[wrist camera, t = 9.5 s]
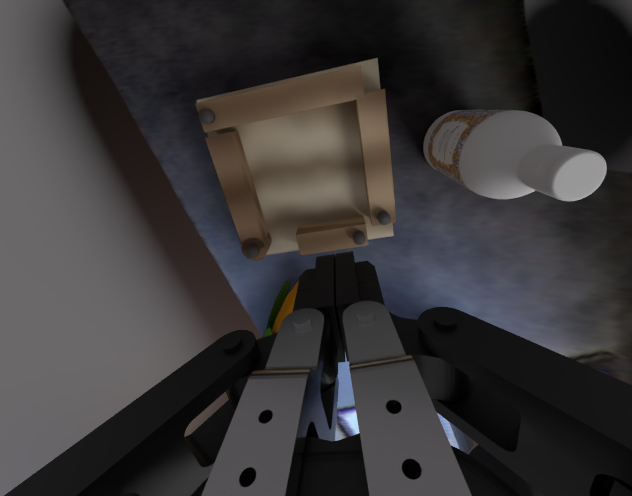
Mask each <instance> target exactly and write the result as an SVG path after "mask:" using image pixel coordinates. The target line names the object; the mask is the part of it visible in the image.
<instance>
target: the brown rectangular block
mask: <svg viewBox="0 0 632 496" xmlns="http://www.w3.org/2000/svg"><path fill="white" fill-rule="evenodd" d="M205 140H206V143H207V146H208V149H209V152H210V155H211V157H212V160H213V163H214V166H215V169H216V172H217V175H218V178H219V181H220V184H221V187H222V189H223V192H224V195H225V198H226V201H227V204H228V207H229V210H230V213H231V216H232V218H233V221H234V224H235V227H236V230H237V233H238V236H239V239H240V242H241V245H242V252H243V254H244V255H245V256H246V257H247V258H248V259H250V260H254V261H258V260H261V259H263V258H264V257H265V256H266V254H267V252H268V250H269V247H270V245H271V242H272V239H271V236H270V234H269V233H268V230H267V227H266V223H265V220H264V217H263V213H262V210H261V207H260V203H259V200H258V196H257V193H256V190H255V186H254V183H253V180H252V176H251V173H250V169H249V166H248V163H247V159H246V156H245V153H244V149H243V146H242V142H241V139H240V136H239V132H238V131H233V132H228V133H224V134H220V135H215V136H211V137H206V138H205Z"/></svg>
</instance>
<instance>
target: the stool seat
mask: <svg viewBox="0 0 632 496" xmlns="http://www.w3.org/2000/svg"><path fill="white" fill-rule="evenodd" d="M196 101H197V103H195V105H196V108H197V111H198V118H199V120H200V121H201V123H202V126H203V130H204V132H207V134H208V137H211V136H215V135H220V134H224V133H228V132H233V131H238V132H239V136H240V139H241V142H242V146H243V149H244V153H245V156H246V159H247V163H248V166H249V169H250V173H251V176H252V180H253V183H254V186H255V190H256V193H257V196H258V200H259V203H260V207H261V210H262V213H263V217H264V220H265V223H266V227H267V230H268V233H269V234H270V236H271V239H272V242H271V245H270V247H269V250H268V252H267V254H266V255H271V254H278V253H284V252H291V251H297V250H299V251H300V255H308V254H314V253H321V252H328V251H334V250H341V249H348V248H354V247H361V246H368V240H369V239H376V238H382V237H389V236H394V235H393V224H392V223H396V214H395V202H394V190H393V178H392V167H391V155H390V143H389V131H388V119H387V107H386V95H385V89H381V90H380V79H379V68H378V58H375V59H371V60H366V61H362V62H358V63H354V64H349V65H345V66H341V67H336V68H332V69H328V70H324V71H319V72H315V73H311V74H306V75H302V76H298V77H294V78H289V79H285V80H281V81H276V82H272V83H268V84H264V85H259V86H255V87H251V88H246V89H242V90H238V91H234V92H229V93H225V94H221V95H216V96H212V97H208V98H203V99H199V100H196Z"/></svg>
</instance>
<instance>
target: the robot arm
mask: <svg viewBox="0 0 632 496" xmlns="http://www.w3.org/2000/svg"><path fill="white" fill-rule="evenodd" d="M335 256H336V259H335ZM345 352H346V357H347V361H349V363H350V365H349V367H350V374H351V380H352V387H353V393H354V399H355V406H356V412H357V419H358V425H359V432H360V433H359V434H356V435H353V436H351V437H348V438H345V439H342V440H339V441H335V429H336V415H337V401H338V386H339V381H338V377H337V375H338V362H345ZM224 392H226V394H227V396H228V398H229V400H228V401H227V402H226V403H225V404H224V405H223V406H222V407H220V408H219V409H218V410H217V411H216V412H215V413H214V414H213V415H212V416H211V417H209V418H208V419H207V420H206V421H205V422H204V423H203V424H202V425H201V426H199V427H198V428H197V429H196V430H195V431H194V432H193V433H192V434H190V435H189V436H186V437H184V434H185V430H186V428H187V426H188V425H189V424H190V422H191V421H192V420H193V419H194V418H196V416H198V415H199V414H200V413H201V412H202V411H204V410H205V409H206V408H207V407H208V406H209V405H210V404H212V403H213V402H214V401H215V400H216V399H217V398H218V397H220V395H222V394H223V393H224ZM436 412H437V413H439V414H440V415H441V416H442V417H444V418H445V419H446V420H448V421H449V422H450V425H451V428H452V430H453V433H454V436H455V438H456V441H457V443H458V446H459V449H460V450H459V449H457V448H455V447H453V446H450V443H449V441H448V439H447V436H446V434H445V431H444V429H443V427H442V424H441V422H440V420H439V417H438V415H437V413H436ZM4 496H632V385H630V384H628V383H625V382H623V381H621V380H618V379H616V378H614V377H611V376H609V375H607V374H605V373H602V372H600V371H598V370H595V369H593V368H591V367H588V366H586V365H584V364H582V363H579V362H577V361H575V360H572V359H570V358H568V357H566V356H563V355H561V354H559V353H556V352H554V351H552V350H549V349H547V348H545V347H543V346H540V345H538V344H536V343H533V342H531V341H529V340H526V339H524V338H522V337H520V336H517V335H515V334H513V333H510V332H508V331H506V330H503V329H501V328H499V327H497V326H494V325H492V324H490V323H487V322H485V321H483V320H480V319H478V318H476V317H474V316H471V315H469V314H467V313H464V312H462V311H460V310H457V309H453V308H448V307H436V308H431V309H428V310H426V311H425V312H423V313H422V314H421V315H420V316H419V319H418V320H413V319H405V318H401V317H398V316H395V315H393V314H392V313H390V312H389V311H388V309H387V308H386V307H385V305H384V301H383V297H382V293H381V289H380V285H379V282H378V278H377V274H376V270H375V266H373V265H372V264H371V263H370V262H368V261H364V262H357V263H355V261H354V255H353V251H351V252H344V253H337V254H336V255H334V254H331V255H324V256H318V257H317V259H316V267H315V269H309V270H305V272H304V273H303V274H302V275H301V276H300V278H299V283H298V288H297V293H296V297H295V302H294V307H293V312H292V313H290V314H288V315H287V316H286V317H285V318H284V319H283V321H282V322H281V325H280V328H279V331H278V332H276V333H274V334H272V335H269V336H266V337H264V338H261V339H258V340H256V338H255V335H254V334H253V333H252V332H250V331H247V330H238V331H234V332H231V333H228V334H226V335H224V336H223V337H221V338H220V339H218V340H217V341H216V342H214V343H213V344H211V345H210V346H209V347H207V348H206V349H205V350H203V351H202V352H201V353H199V354H198V355H196V356H195V357H194V358H192V359H191V360H190V361H188V362H187V363H185V364H184V365H183V366H181V367H180V368H179V369H177V370H176V371H175V372H173V373H172V374H170V375H169V376H168V377H166V378H165V379H163V380H162V381H161V382H159V383H158V384H157V385H155V386H154V387H152V388H151V389H150V390H148V391H147V392H146V393H144V394H143V395H142V396H140V397H139V398H137V399H136V400H135V401H133V402H132V403H131V404H129V405H128V406H126V407H125V408H124V409H122V410H121V411H120V412H118V413H117V414H115V415H114V416H113V417H111V418H110V419H109V420H107V421H106V422H104V423H103V424H102V425H100V426H99V427H98V428H96V429H95V430H94V431H92V432H91V433H89V434H88V435H87V436H85V437H84V438H83V439H81V440H80V441H79V442H77V443H76V444H74V445H73V446H72V447H70V448H69V449H67V450H66V451H65V452H64V453H62V454H61V455H59V456H58V457H56V458H55V459H54V460H52V461H51V462H50V463H48V464H47V465H46V466H44V467H43V468H41V469H40V470H39V471H37V472H36V473H35V474H33V475H32V476H30V477H29V478H28V479H26V480H25V481H24V482H22V483H21V484H19V485H18V486H17V487H15V488H14V489H13V490H11V491H10V492H8V493H7V494H6V495H4Z"/></svg>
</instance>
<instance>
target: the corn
mask: <svg viewBox="0 0 632 496" xmlns="http://www.w3.org/2000/svg"><path fill="white" fill-rule="evenodd" d="M298 283H299V281H297V283H296V284H295V286H294V287H293V288H292V290H291V291H290V293H289V294H288V295H287V293H288V290H289V284H290V283H289V281H287V282H286V283H285V285H284V286H283V288H282V290H281V291H280V293H279V295H278V297H277V299H276V301H275V303H274V306H273V309H272V312H271V315H270V318H269V321H268V326H267V330H266V331H265V333H264V335H263V338H264V337H266V336H269V335H272V334H274V333H276V332H278V331H279V328H280V325H281V322H282V321H283V319H284V318H285V317H286V316H287V315H288V314H290V313H292V312H293V307H294V302H295V297H296V293H297V288H298Z"/></svg>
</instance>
